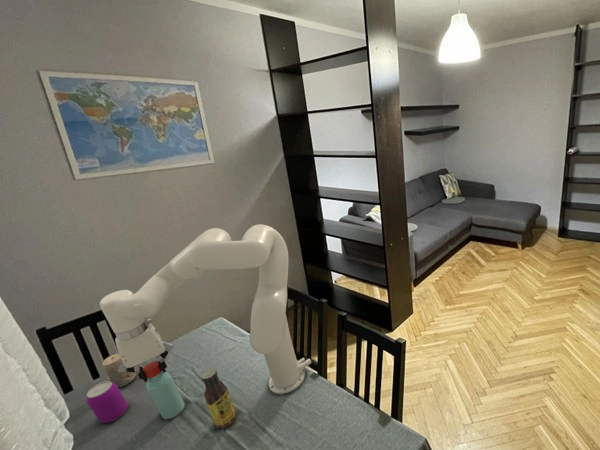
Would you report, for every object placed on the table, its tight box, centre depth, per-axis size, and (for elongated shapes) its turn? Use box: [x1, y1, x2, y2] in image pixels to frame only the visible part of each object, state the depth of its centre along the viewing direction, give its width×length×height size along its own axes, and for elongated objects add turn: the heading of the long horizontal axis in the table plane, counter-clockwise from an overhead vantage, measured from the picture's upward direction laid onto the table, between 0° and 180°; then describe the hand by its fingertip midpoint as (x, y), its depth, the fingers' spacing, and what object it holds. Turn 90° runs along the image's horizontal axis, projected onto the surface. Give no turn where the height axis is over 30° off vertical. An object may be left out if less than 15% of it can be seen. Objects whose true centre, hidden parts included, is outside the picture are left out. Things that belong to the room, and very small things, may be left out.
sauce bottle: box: [200, 368, 237, 429], centre depth 98 cm, size 6×6×20 cm
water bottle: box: [145, 371, 186, 420], centre depth 103 cm, size 7×7×20 cm
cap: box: [143, 360, 162, 379], centre depth 99 cm, size 4×4×3 cm
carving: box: [101, 353, 137, 388], centre depth 117 cm, size 6×8×12 cm
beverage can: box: [86, 380, 129, 424], centre depth 105 cm, size 8×8×12 cm
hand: (154, 374), depth 100 cm, fingers closed on cap, 4 cm apart
